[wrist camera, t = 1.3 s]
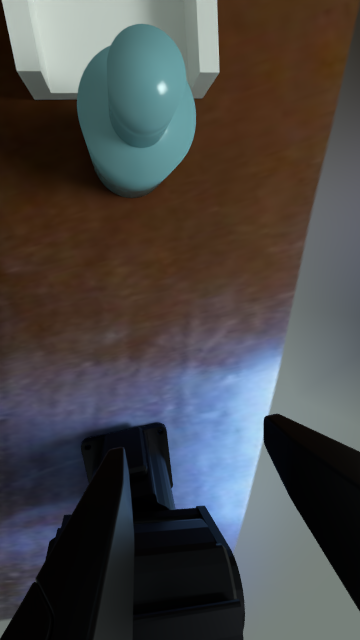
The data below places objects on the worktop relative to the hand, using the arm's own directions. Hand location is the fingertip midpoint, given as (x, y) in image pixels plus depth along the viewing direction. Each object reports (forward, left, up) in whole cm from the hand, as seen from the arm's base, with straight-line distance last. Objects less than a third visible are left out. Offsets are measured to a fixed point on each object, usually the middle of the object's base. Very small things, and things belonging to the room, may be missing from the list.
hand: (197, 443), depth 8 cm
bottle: (+10, 0, -13) cm, 16 cm away
